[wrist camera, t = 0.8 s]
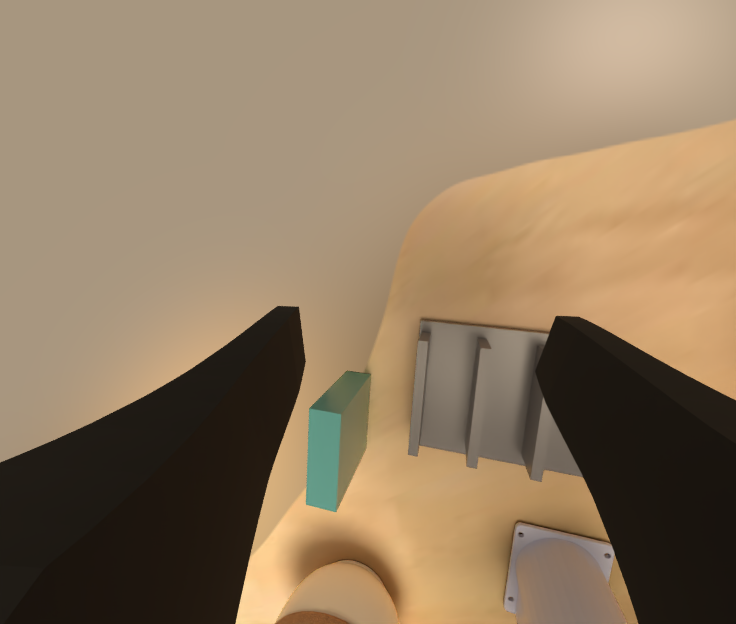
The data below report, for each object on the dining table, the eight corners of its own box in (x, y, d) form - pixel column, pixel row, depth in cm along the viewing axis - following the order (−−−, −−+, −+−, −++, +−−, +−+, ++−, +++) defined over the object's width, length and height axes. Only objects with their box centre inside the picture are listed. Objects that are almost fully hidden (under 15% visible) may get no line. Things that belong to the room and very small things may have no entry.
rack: (589, 473, 28) (613, 508, 24) (410, 439, 32) (404, 464, 28) (614, 339, 26) (644, 353, 22) (421, 319, 30) (416, 328, 26)
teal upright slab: (366, 448, 34) (336, 512, 25) (343, 443, 34) (305, 504, 26) (371, 374, 32) (341, 414, 24) (346, 370, 33) (309, 408, 24)
